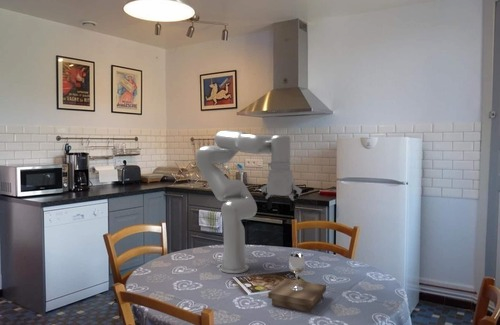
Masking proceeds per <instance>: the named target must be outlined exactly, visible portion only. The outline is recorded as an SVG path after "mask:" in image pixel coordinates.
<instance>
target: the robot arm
mask: <svg viewBox="0 0 500 325" xmlns="http://www.w3.org/2000/svg"><path fill="white" fill-rule="evenodd" d="M213 140H214V141H213V142H214V143H215V145H205V146H201V147H199V149H198V150H197V151H196V155H195V162H196V166H197V168H198V170H199V172H200V173H201V175H202V176H203V177H204V179H205V180H206V182H207V184H208V185H209V188H210V190H211V191H212V193H213V194H214V196H215V198H216V199H217V200H218V201H220V202H224V203H222V205H221V207H220V208H221V209H220V214H221V217H222V225H223V226H222V227H223V228H222V230H223V257H218V258H217V260H216V263H217V264H221V266H220V271H221V272H223V273H227V274H241V273H245V272H247V271H248V270H249V265H248V264H247V263H246V231H245V226H244V224H243V223H242V220H245V219H250V218H253V217H254V216H256V214H257V211H258V206H257V203H256V201H255V199H254V197H253V195H252V194H251V192H250V191H249V189H248V188H247V186H246V184H245V183H244V182H243V181H242V180H241V179H240V180H239V179H228V178H227V176H226V175H225V174H224V171H222V169H221V168H220V167H219V166H217V165H216V164H227V163H228V162H230V161H231V160H233V158H234V157H235V156H236V154H238V152H241V153H246V154H253V155H261V154H265V155H267V154H270V156H271V160H270V163H268V165H267V167H269V168H270V169H269V171H268V176H267V182H266V184H265V185H263V186H261V187H260V190H261V192H262V195H263V196H264V197H265V199H266V207H267V210H269V209H273V198H272V197H273V196H284V197H285V196H287V197H289V199H290V200H289V211H290V212H292V211H294V210H295V208H296V200H297V199H298V198H299V197H300V196H301V193H302V191H303V189H302V188H300V187H298V186H297V185H295V183H294V182H295V181H294V174H293V170H292V169H291V138H290V136H289V135H285V134H284V135H283V134H282V135H278V134H277V135H270V134H249V133H248V134H247V132H244V131H240V130H226V129H225V130H220V131H218V132H216V133H215V135H214V139H213ZM295 191H296V192H295ZM294 193H295V194H294Z"/></svg>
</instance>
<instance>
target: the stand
mask: <svg viewBox="0 0 500 325" xmlns="http://www.w3.org/2000/svg"><path fill="white" fill-rule="evenodd" d="M297 284H298V286H300V287H302V288H303V290H300V291H295V290H292V289H291V287H292V286H296V279H293V278H292V279H291V278H284V279H283V280H282V281H281V282H280V283H278V284H277V285H275V286H273V288H272V289H271V290H270V291H268V292H267V294H268V296H267V299H269V300H270V299H271V305H272V306H276V307H278V306H279V307H281V308H282V307H283V308H288V309H293V310H297V311H302V312H308V313H312V311H313V310H314V309H315V307H316V306H317V305H318V304H319V303H320V301H322V299H323V296H324V294H325V292H326V291H327V285H326V284H321V283H316V282H309V281H303V280H298V279H297Z"/></svg>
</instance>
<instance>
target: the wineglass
mask: <svg viewBox="0 0 500 325" xmlns="http://www.w3.org/2000/svg"><path fill="white" fill-rule="evenodd" d="M288 268H289V271H290V272H292V273H294V274H295V280H296V286H292V287H291V289H292V290H295V291H300V290H303V288H302V287H300V286H298V284H297V280H298V278H299V274H301V273H302V272H303V271H304V270H305V268H306V261H305V255H304V254H302V253H292V254H290V255H289V259H288Z"/></svg>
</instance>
